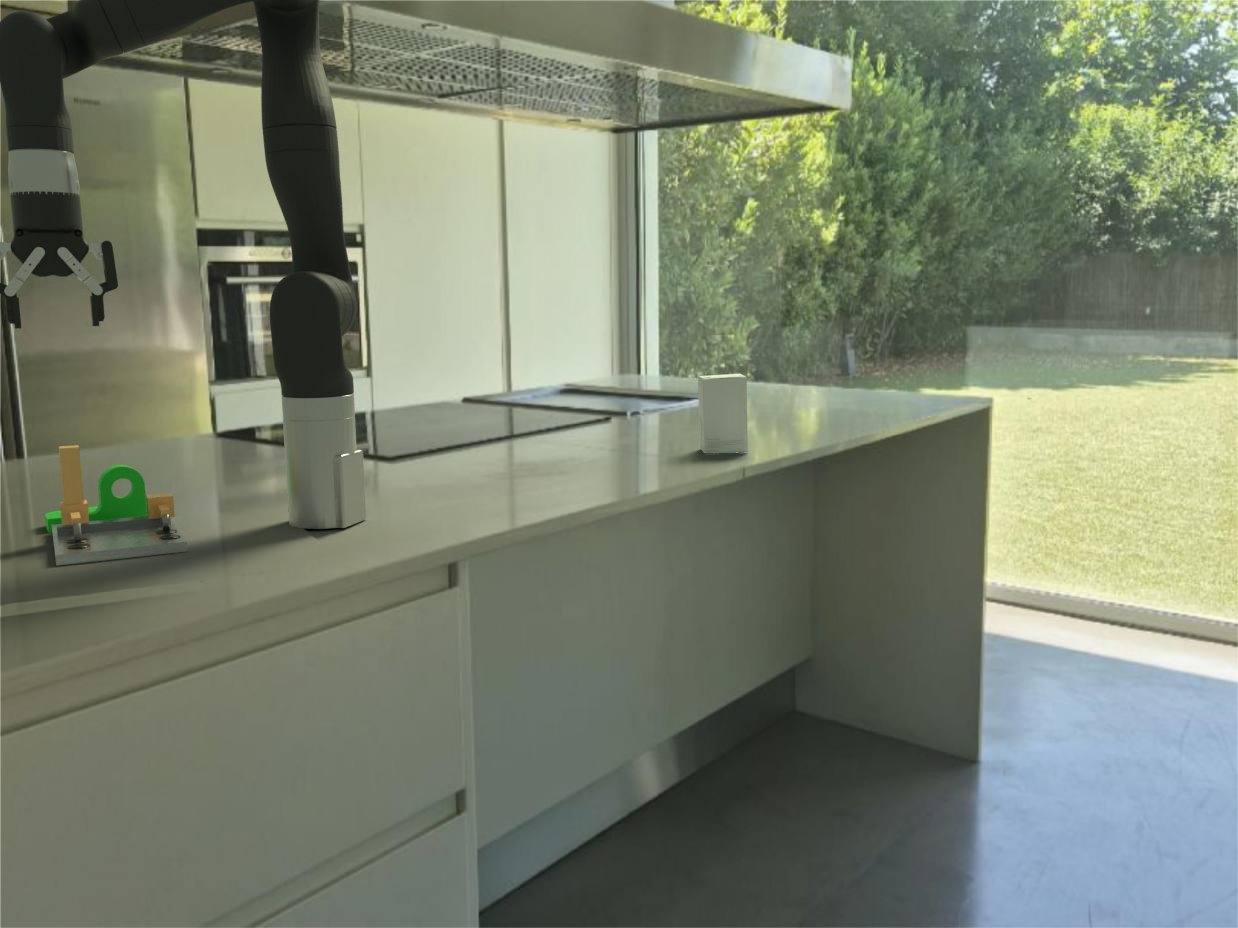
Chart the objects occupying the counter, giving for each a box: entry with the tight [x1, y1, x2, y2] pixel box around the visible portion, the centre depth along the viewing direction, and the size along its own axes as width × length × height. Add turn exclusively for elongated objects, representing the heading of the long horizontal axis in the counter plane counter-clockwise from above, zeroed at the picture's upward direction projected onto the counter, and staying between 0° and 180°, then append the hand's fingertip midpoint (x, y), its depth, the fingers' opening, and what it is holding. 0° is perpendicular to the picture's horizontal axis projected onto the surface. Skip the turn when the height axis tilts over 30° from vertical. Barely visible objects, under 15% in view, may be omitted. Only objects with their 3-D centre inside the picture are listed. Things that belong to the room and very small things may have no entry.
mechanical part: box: [44, 464, 147, 534], centre depth 151 cm, size 12×6×8 cm, turn 122°
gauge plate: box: [51, 492, 188, 567], centre depth 139 cm, size 14×20×5 cm
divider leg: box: [58, 444, 89, 540], centre depth 137 cm, size 3×8×10 cm, turn 28°
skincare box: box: [697, 373, 749, 455], centre depth 205 cm, size 8×6×15 cm
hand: (57, 327), depth 138 cm, fingers open, 8 cm apart
